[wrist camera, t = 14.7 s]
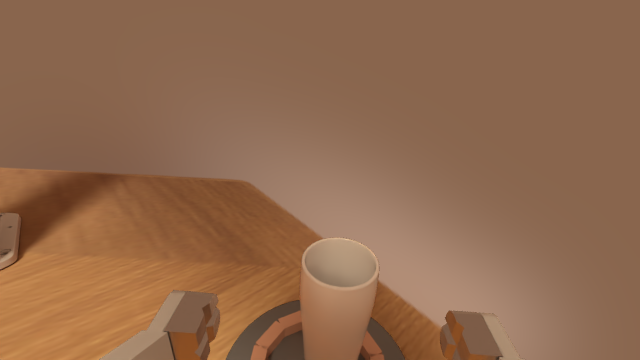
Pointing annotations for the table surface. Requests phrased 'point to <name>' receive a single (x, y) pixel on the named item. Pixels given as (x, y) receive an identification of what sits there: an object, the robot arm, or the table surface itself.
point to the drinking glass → (336, 298)
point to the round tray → (301, 338)
